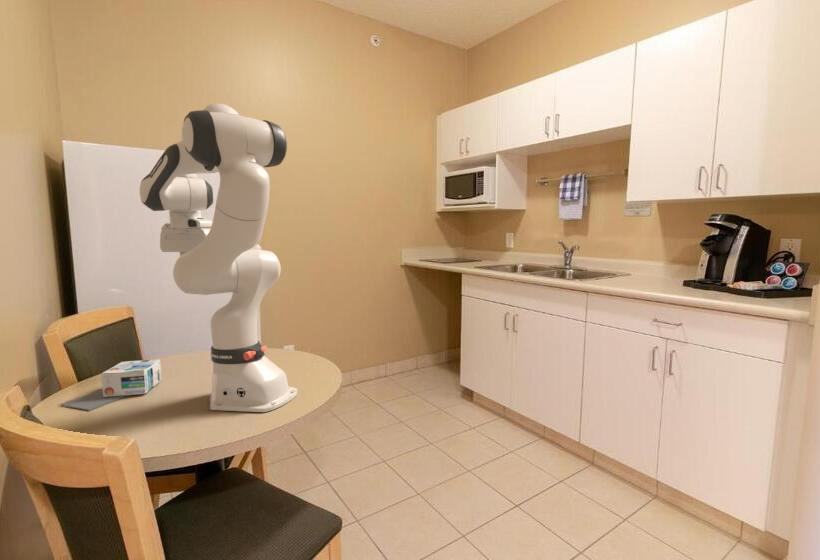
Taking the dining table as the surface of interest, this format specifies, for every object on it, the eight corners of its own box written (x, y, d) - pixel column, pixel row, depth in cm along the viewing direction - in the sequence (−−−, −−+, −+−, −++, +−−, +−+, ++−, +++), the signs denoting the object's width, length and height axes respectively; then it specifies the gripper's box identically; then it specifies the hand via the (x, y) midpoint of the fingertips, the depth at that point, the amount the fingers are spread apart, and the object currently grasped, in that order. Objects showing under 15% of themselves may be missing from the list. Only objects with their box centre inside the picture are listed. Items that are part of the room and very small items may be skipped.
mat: (142, 390, 113) (142, 388, 113) (89, 411, 100) (89, 409, 100) (114, 385, 117) (114, 384, 117) (59, 405, 104) (59, 404, 104)
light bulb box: (160, 358, 119) (144, 369, 108) (162, 380, 120) (146, 394, 109) (120, 361, 117) (99, 373, 106) (122, 384, 117) (102, 397, 107)
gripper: (152, 223, 128) (156, 266, 129) (203, 221, 121) (206, 267, 123) (170, 223, 134) (173, 265, 135) (219, 222, 127) (222, 265, 129)
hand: (189, 266), depth 129 cm, fingers closed
